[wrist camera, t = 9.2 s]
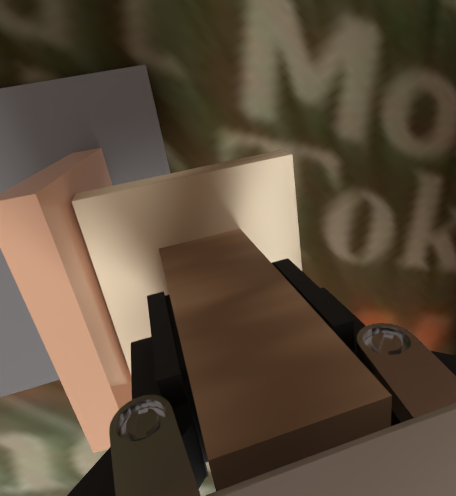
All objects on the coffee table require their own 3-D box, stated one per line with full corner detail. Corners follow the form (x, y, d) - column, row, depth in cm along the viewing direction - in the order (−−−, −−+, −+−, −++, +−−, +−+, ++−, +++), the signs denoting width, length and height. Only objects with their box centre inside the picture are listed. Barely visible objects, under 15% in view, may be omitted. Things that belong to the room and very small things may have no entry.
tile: (101, 147, 19) (35, 193, 10) (148, 307, 23) (132, 443, 14) (70, 153, 19) (-25, 205, 10) (123, 312, 23) (89, 453, 14)
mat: (145, 65, 19) (145, 64, 19) (206, 330, 26) (207, 335, 25) (-261, 132, 16) (-275, 133, 16) (-73, 412, 23) (-77, 420, 22)
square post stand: (279, 150, 15) (533, 230, 6) (296, 315, 18) (474, 537, 9) (75, 193, 13) (-30, 392, 4) (132, 363, 17) (143, 685, 7)
